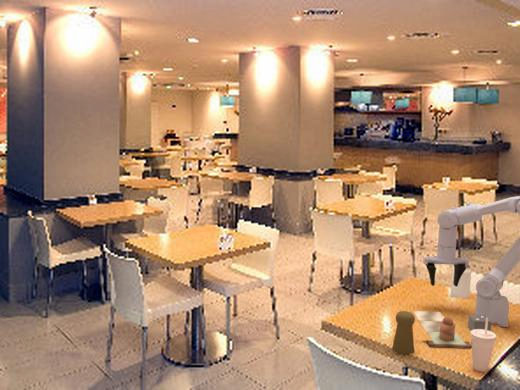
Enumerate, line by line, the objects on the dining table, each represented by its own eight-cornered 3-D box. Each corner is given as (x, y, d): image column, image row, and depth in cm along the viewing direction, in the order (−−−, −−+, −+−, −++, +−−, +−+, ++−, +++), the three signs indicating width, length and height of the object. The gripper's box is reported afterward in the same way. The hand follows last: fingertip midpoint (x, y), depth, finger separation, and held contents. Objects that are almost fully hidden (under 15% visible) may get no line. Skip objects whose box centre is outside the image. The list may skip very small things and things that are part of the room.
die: (484, 331, 171) (485, 315, 170) (489, 337, 166) (491, 321, 166) (467, 330, 171) (469, 314, 171) (473, 336, 166) (474, 320, 166)
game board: (444, 314, 184) (444, 311, 184) (471, 348, 158) (472, 345, 158) (407, 313, 185) (408, 310, 185) (429, 347, 158) (429, 343, 158)
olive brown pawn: (415, 355, 152) (417, 317, 151) (392, 353, 154) (394, 315, 152) (413, 346, 158) (416, 309, 157) (391, 344, 159) (394, 307, 158)
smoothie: (491, 376, 141) (495, 324, 139) (465, 369, 144) (469, 318, 142) (495, 367, 146) (500, 316, 144) (470, 360, 150) (474, 311, 148)
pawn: (449, 334, 165) (450, 314, 164) (457, 340, 161) (458, 319, 160) (436, 335, 164) (437, 314, 163) (443, 341, 160) (445, 320, 159)
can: (471, 300, 199) (474, 268, 197) (453, 300, 199) (456, 268, 197) (465, 294, 205) (467, 263, 204) (447, 294, 206) (450, 263, 204)
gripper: (464, 243, 187) (461, 282, 189) (421, 242, 188) (419, 280, 190) (472, 248, 180) (468, 288, 182) (427, 247, 181) (424, 287, 183)
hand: (443, 285), depth 185 cm, fingers open, 7 cm apart
